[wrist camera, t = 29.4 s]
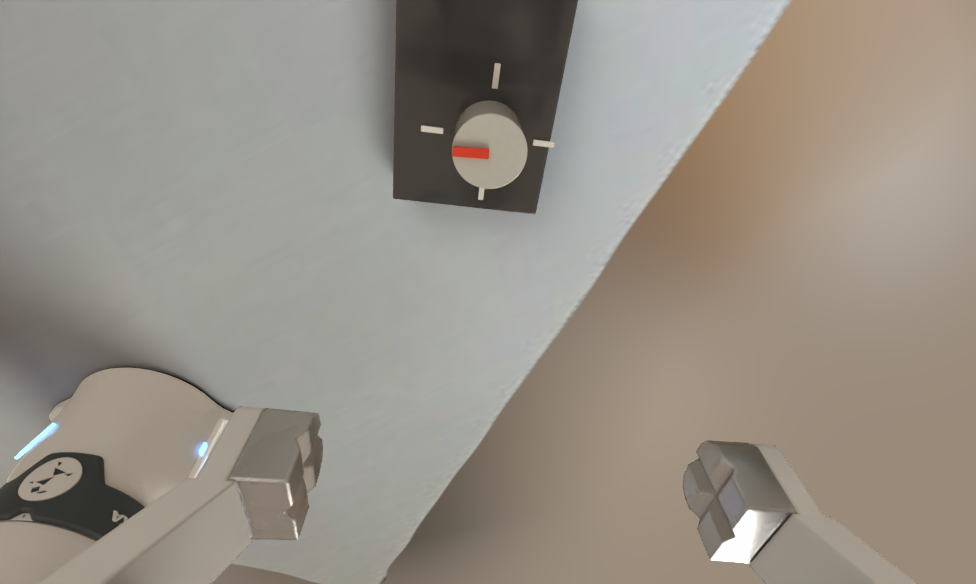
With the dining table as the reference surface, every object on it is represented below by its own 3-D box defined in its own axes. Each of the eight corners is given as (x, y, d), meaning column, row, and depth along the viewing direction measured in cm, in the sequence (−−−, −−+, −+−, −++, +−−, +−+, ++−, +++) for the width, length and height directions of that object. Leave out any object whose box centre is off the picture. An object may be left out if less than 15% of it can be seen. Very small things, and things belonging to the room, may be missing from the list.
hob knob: (526, 103, 29) (533, 118, 26) (518, 172, 31) (523, 193, 28) (455, 97, 29) (453, 111, 26) (452, 167, 31) (450, 188, 28)
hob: (535, 198, 36) (539, 216, 33) (398, 183, 35) (392, 199, 32) (577, -21, 28) (588, -21, 25) (404, -48, 27) (396, -51, 25)
